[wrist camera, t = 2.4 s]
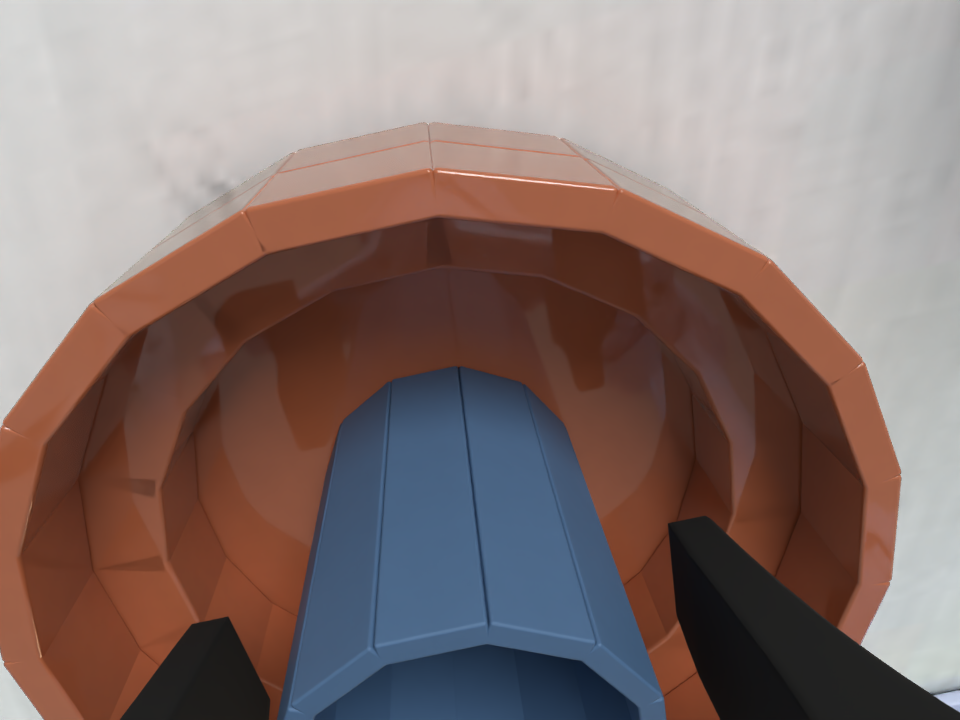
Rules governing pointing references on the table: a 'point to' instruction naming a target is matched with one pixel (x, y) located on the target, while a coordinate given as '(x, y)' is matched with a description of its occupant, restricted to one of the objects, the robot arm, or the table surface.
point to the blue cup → (462, 569)
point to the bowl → (414, 350)
